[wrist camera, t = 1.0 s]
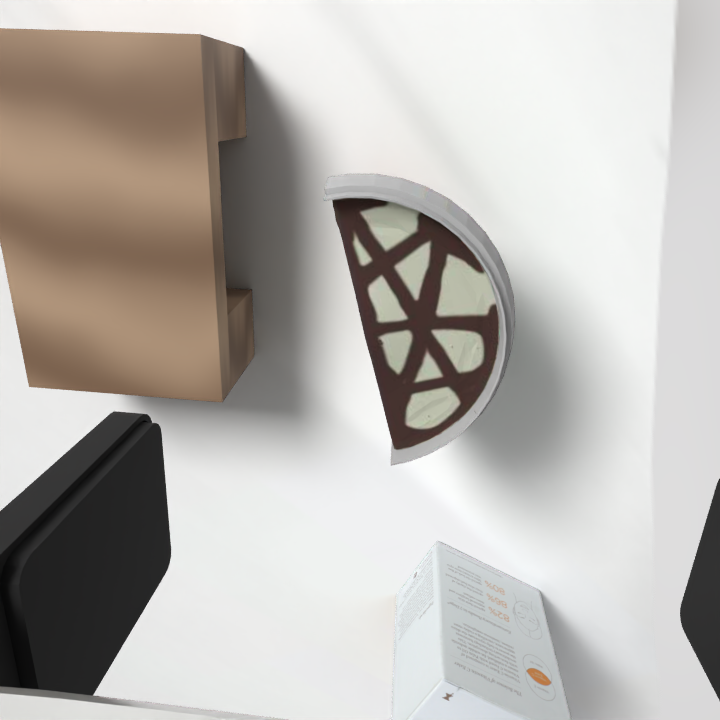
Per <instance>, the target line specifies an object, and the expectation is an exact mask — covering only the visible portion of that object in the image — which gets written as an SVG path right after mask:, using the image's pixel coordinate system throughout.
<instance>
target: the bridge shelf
mask: <svg viewBox="0 0 720 720" xmlns="http://www.w3.org/2000/svg"><path fill="white" fill-rule="evenodd" d="M243 137H247V136H246V108H245V81H244V53H243V48H242V47H238V46H235V45H232V44H229V43H226V42H223V41H219V40H216V39H213V38H210V37H207V36H204V35H200V34H170V33H137V32H103V31H70V30H37V29H3V28H0V243H1V248H2V253H3V258H4V263H5V268H6V273H7V278H8V283H9V288H10V293H11V298H12V303H13V308H14V313H15V318H16V323H17V328H18V333H19V338H20V343H21V348H22V353H23V358H24V363H25V368H26V373H27V378H28V383H29V387H38V388H50V389H63V390H75V391H88V392H100V393H113V394H125V395H138V396H150V397H162V398H175V399H187V400H200V401H212V402H223V401H224V399H225V398H226V396H227V395H228V393H229V392H230V390H231V389H232V388H233V386H234V385H235V383H236V382H237V380H238V379H239V377H240V376H241V375H242V373H243V372H244V370H245V369H246V367H247V366H248V364H249V363H250V362H251V360H252V359H253V357H254V331H253V303H252V290H249V289H233V288H226V278H225V260H224V241H223V222H222V204H221V185H220V166H219V147H218V142H220V141H225V140H231V139H237V138H243Z"/></svg>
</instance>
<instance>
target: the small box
mask: <svg viewBox="0 0 720 720" xmlns="http://www.w3.org/2000/svg"><path fill="white" fill-rule="evenodd" d="M391 720H572V719H571V715H570V711H569V707H568V702H567V699H566V695H565V691H564V686H563V682H562V678H561V674H560V670H559V666H558V662H557V658H556V654H555V650H554V646H553V642H552V638H551V634H550V630H549V626H548V623H547V618H546V615H545V610H544V606H543V602H542V598H541V594H540V591H539V590H538V589H536V588H533V587H531V586H529V585H527V584H525V583H523V582H521V581H519V580H517V579H515V578H513V577H511V576H509V575H507V574H505V573H503V572H501V571H498V570H496V569H494V568H492V567H490V566H488V565H486V564H484V563H482V562H480V561H478V560H476V559H474V558H472V557H470V556H468V555H466V554H463V553H461V552H459V551H457V550H455V549H453V548H451V547H449V546H447V545H445V544H443V543H441V542H439V541H436V543H435V544H434V545H433V547H432V548H431V549H430V551H429V552H428V553H427V555H426V556H425V557H424V559H423V560H422V562H421V563H420V564H419V566H418V567H417V568H416V570H415V571H414V572H413V574H412V575H411V576H410V578H409V579H408V580H407V582H406V583H405V584H404V586H403V587H402V588H401V590H400V591H399V592H398V594H397V595H396V616H395V640H394V665H393V690H392V717H391Z"/></svg>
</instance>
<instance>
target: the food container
mask: <svg viewBox="0 0 720 720" xmlns="http://www.w3.org/2000/svg"><path fill="white" fill-rule="evenodd" d="M325 193H326V196H325V197H324V201H327V200H332V201H333V207H334V211H335V217H336V222H337V224H338V227H339V229H340V233H341V237H342V240H343V244H344V249H345V253H346V257H347V261H348V265H349V270H350V274H351V278H352V282H353V286H354V290H355V294H356V299H357V303H358V308H359V312H360V317H361V321H362V326H363V330H364V334H365V339H366V342H367V346H368V350H369V353H370V357H371V360H372V364H373V368H374V372H375V376H376V379H377V383H378V387H379V391H380V395H381V399H382V403H383V407H384V411H385V415H386V419H387V423H388V427H389V431H390V435H391V439H392V448H391V466H392V465H396V464H400V463H405V462H409V461H412V460H415V459H417V458H420V457H423V456H425V455H428V454H430V453H432V452H434V451H436V450H438V449H439V448H441V447H443V446H445V445H447V444H448V443H449V442H451V441H452V440H453V439H455V438H456V437H457V436H458V435H460V434H461V433H462V432H464V431H465V430H466V429H467V428H468V427H469V426H470V425H471V424H472V423H473V422H474V421H475V420H476V419H477V418H478V416H479V415H480V414H481V413H482V412H483V411H484V409H485V408H486V406H487V405H488V404H489V402H490V401H491V399H492V398H493V396H494V395H495V393H496V391H497V389H498V387H499V384H500V382H501V380H502V378H503V376H504V373H505V369H506V366H507V362H508V359H509V355H510V351H511V347H512V343H513V335H514V326H515V311H514V297H513V292H512V288H511V284H510V280H509V276H508V273H507V271H506V268H505V266H504V264H503V261H502V259H501V257H500V255H499V252H498V251H497V249H496V248H495V246H494V245H493V243H492V242H491V240H490V239H489V237H488V236H487V234H486V232H485V231H484V230H483V229H482V228H481V227H480V226H479V225H478V224H477V223H476V222H475V221H474V219H473V218H472V217H471V216H470V215H469V214H468V213H467V212H465V211H464V210H463V209H461V208H460V207H459V206H457V205H456V204H455V203H454V202H452V201H451V200H450V199H448V198H446V197H445V196H443V195H441V194H439V193H437V192H435V191H433V190H432V189H430V188H428V187H426V186H423V185H420V184H417V183H414V182H411V181H409V180H406V179H403V178H398V177H392V176H386V175H380V174H346V175H339V176H333V177H328V180H327V183H326V186H325Z"/></svg>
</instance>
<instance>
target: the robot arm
mask: <svg viewBox="0 0 720 720" xmlns="http://www.w3.org/2000/svg"><path fill="white" fill-rule="evenodd" d="M170 558H171V543H170V531H169V519H168V507H167V495H166V483H165V471H164V458H163V446H162V434H161V428H160V426H159V425H158V424H157V423H152V421H151V418H150V417H149V416H148V415H147V414H137V413H126V412H113V413H111V414H110V415H108V416H107V417H106V418H105V419H104V420H103V421H102V422H101V423H99V424H98V425H97V426H96V427H95V428H94V429H93V430H92V431H90V432H89V433H88V434H87V435H86V436H85V437H84V438H83V439H81V440H80V441H79V442H78V443H77V444H76V445H75V446H73V447H72V448H71V449H70V450H69V451H68V452H67V453H66V454H64V455H63V456H62V457H61V458H60V459H59V460H58V461H57V462H55V463H54V464H53V465H52V466H51V467H50V468H49V469H47V470H46V471H45V472H44V473H43V474H42V475H41V476H40V477H38V478H37V479H36V480H35V481H34V482H33V483H32V484H31V485H29V486H28V487H27V488H26V489H25V490H24V491H23V492H21V493H20V494H19V495H18V496H17V497H16V498H15V499H14V500H12V501H11V502H10V503H9V504H8V505H7V506H6V507H5V508H3V509H2V510H1V511H0V720H288V719H280V718H272V717H264V716H256V715H248V714H240V713H231V712H223V711H215V710H207V709H199V708H191V707H183V706H175V705H167V704H159V703H151V702H143V701H135V700H126V699H118V698H109V697H100V696H93V694H94V693H95V691H96V689H97V688H98V686H99V684H100V683H101V681H102V679H103V677H104V676H105V674H106V672H107V671H108V669H109V667H110V666H111V664H112V662H113V661H114V659H115V657H116V656H117V654H118V652H119V651H120V649H121V647H122V646H123V644H124V642H125V641H126V639H127V637H128V636H129V634H130V632H131V630H132V629H133V627H134V625H135V624H136V622H137V620H138V619H139V617H140V615H141V614H142V612H143V610H144V609H145V607H146V605H147V604H148V602H149V600H150V599H151V597H152V595H153V594H154V592H155V590H156V589H157V587H158V585H159V583H160V582H161V580H162V578H163V577H164V575H165V573H166V571H167V569H168V566H169V563H170ZM680 617H681V623H682V627H683V630H684V632H685V634H686V636H687V638H688V640H689V642H690V644H691V646H692V648H693V650H694V652H695V653H696V655H697V657H698V659H699V661H700V663H701V665H702V667H703V669H704V671H705V673H706V675H707V677H708V679H709V681H710V683H711V685H712V687H713V688H714V690H715V692H716V694H717V696H718V698H719V700H720V479H719V481H718V483H717V486H716V490H715V493H714V496H713V499H712V503H711V506H710V510H709V513H708V516H707V519H706V523H705V526H704V530H703V533H702V537H701V540H700V543H699V546H698V550H697V553H696V556H695V560H694V563H693V567H692V570H691V573H690V577H689V580H688V584H687V587H686V590H685V593H684V597H683V600H682V604H681V609H680Z"/></svg>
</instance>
